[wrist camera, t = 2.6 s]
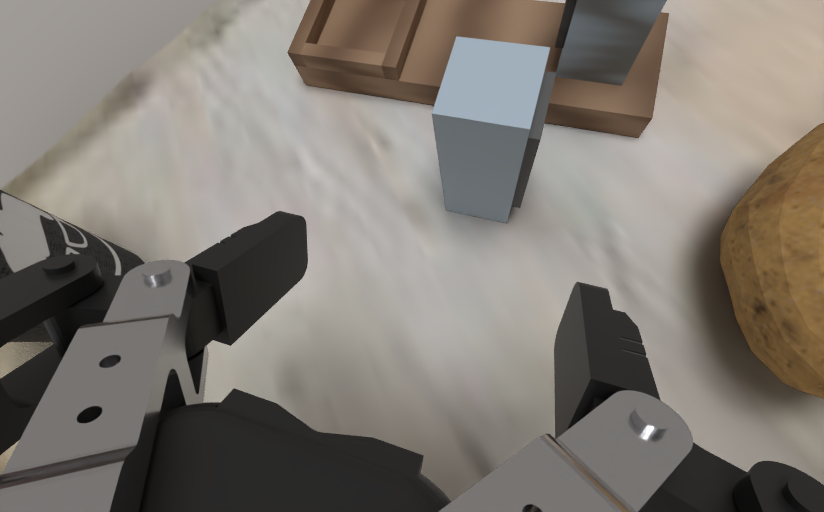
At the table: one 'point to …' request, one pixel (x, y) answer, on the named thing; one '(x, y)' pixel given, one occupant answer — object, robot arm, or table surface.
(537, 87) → the block
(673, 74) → the table surface
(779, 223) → the potato
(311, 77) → the wooden block holder
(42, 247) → the coffee cup
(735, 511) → the robot arm
